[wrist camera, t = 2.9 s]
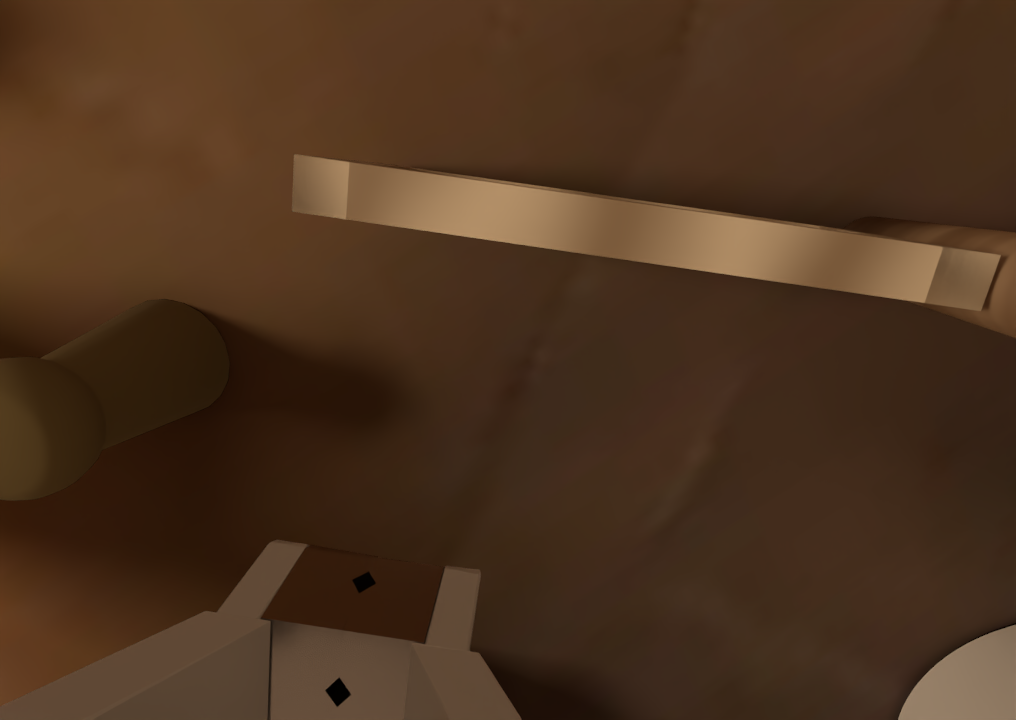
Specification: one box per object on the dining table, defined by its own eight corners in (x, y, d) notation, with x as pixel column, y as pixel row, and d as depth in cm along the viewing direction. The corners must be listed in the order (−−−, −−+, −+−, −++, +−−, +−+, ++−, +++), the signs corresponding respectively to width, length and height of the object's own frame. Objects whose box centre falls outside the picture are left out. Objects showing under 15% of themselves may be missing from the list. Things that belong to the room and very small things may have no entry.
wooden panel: (841, 228, 27) (1000, 255, 17) (830, 265, 27) (981, 311, 18) (382, 163, 27) (294, 154, 18) (379, 200, 28) (292, 211, 18)
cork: (88, 339, 31) (-145, 420, 21) (176, 275, 30) (-24, 326, 20) (166, 434, 33) (-17, 556, 22) (253, 377, 31) (104, 477, 21)
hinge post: (911, 221, 27) (1214, 256, 15) (889, 288, 28) (1160, 374, 16) (842, 212, 27) (1088, 238, 15) (823, 279, 28) (1040, 356, 16)
